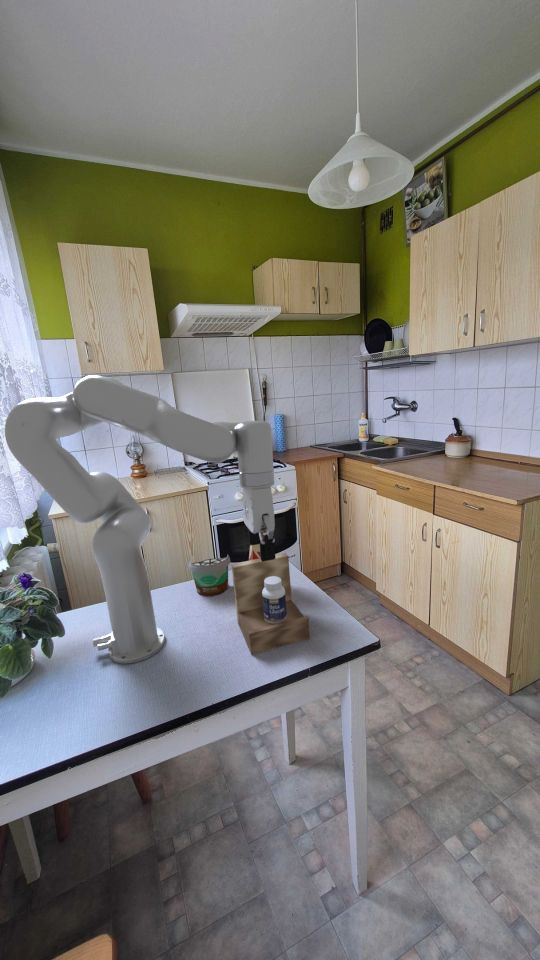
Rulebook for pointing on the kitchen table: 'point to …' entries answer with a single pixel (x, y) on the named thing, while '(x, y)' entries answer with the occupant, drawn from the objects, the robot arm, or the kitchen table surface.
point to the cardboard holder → (251, 605)
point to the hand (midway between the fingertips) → (261, 551)
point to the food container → (211, 576)
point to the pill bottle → (274, 600)
